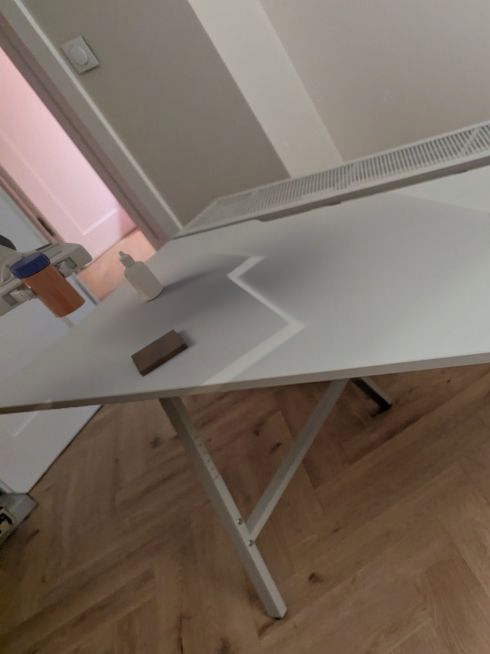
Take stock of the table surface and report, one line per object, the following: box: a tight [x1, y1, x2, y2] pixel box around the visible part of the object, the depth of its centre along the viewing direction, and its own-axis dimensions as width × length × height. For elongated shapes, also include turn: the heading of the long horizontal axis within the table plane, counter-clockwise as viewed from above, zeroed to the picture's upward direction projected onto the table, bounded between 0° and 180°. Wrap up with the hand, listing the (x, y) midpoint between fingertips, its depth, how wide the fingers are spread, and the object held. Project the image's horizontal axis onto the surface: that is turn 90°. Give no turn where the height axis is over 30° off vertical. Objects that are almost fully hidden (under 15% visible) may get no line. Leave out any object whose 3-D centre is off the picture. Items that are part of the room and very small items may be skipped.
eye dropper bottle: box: [118, 250, 164, 302], centre depth 124 cm, size 4×6×12 cm
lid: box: [9, 251, 50, 279], centre depth 99 cm, size 6×6×2 cm
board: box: [130, 328, 188, 377], centre depth 102 cm, size 9×9×1 cm
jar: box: [20, 262, 86, 319], centre depth 102 cm, size 6×6×11 cm
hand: (48, 283), depth 101 cm, fingers closed on jar, 6 cm apart
